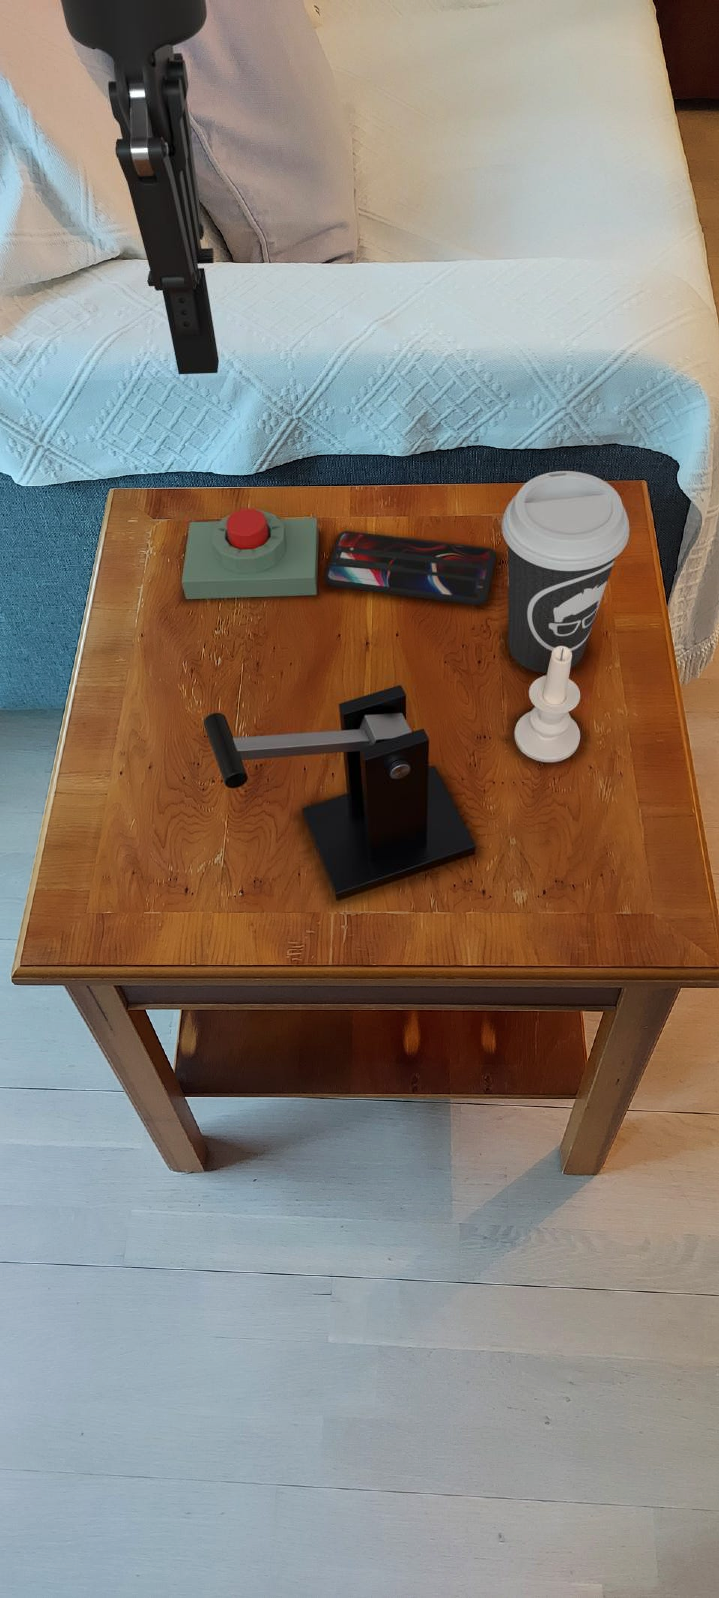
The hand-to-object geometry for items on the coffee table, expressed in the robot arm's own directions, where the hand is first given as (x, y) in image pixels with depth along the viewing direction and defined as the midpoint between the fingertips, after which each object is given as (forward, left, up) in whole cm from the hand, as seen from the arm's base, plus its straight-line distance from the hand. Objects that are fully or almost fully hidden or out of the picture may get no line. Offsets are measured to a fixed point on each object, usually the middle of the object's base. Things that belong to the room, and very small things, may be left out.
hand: (198, 367), depth 70 cm
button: (0, +6, -21) cm, 21 cm away
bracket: (+12, -24, -24) cm, 36 cm away
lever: (+7, -26, -11) cm, 29 cm away
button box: (0, +6, -24) cm, 25 cm away
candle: (+25, -15, -24) cm, 38 cm away
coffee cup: (+26, -5, -24) cm, 36 cm away
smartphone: (+15, +5, -24) cm, 29 cm away
